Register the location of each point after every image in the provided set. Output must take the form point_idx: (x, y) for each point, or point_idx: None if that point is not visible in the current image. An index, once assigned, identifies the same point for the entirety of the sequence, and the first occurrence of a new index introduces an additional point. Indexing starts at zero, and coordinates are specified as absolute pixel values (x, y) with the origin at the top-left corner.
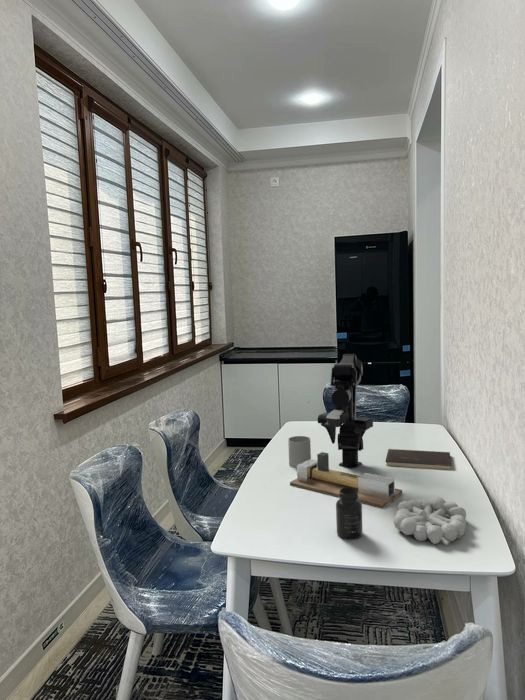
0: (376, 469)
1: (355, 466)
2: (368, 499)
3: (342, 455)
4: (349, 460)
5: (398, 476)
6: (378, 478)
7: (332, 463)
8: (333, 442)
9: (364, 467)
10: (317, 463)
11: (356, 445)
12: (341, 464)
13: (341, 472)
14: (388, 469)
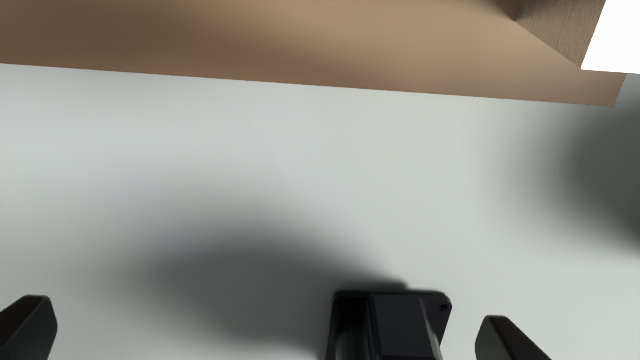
0: (205, 331)
1: (331, 310)
2: None
3: (432, 353)
4: (372, 331)
5: (25, 293)
6: None
7: (503, 309)
8: (489, 334)
9: (285, 329)
10: (590, 14)
11: (4, 319)
12: (432, 304)
13: None
14: (146, 354)
